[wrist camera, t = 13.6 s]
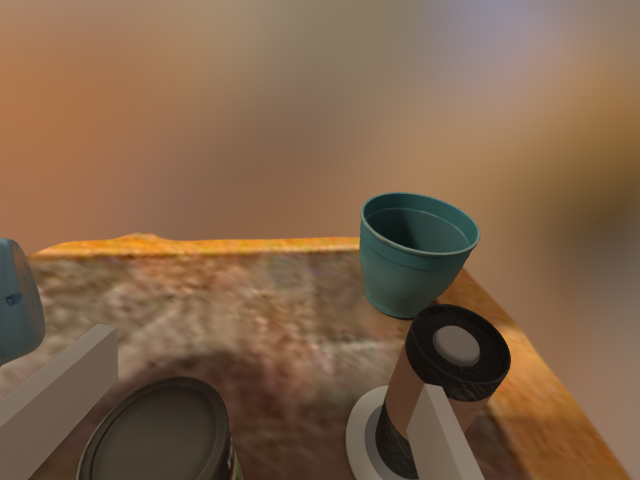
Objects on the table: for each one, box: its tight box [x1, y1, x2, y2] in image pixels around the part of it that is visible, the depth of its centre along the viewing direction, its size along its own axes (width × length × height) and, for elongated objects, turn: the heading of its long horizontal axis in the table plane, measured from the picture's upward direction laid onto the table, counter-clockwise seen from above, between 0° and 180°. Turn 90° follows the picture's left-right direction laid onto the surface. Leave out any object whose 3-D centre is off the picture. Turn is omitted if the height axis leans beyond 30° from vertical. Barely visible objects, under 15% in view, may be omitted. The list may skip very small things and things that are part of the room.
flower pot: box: [359, 192, 480, 318], centre depth 51 cm, size 18×18×17 cm
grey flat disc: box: [345, 386, 419, 480], centre depth 36 cm, size 14×14×1 cm
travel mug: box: [375, 304, 511, 480], centre depth 29 cm, size 8×8×20 cm
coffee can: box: [76, 377, 243, 480], centre depth 27 cm, size 10×10×14 cm
